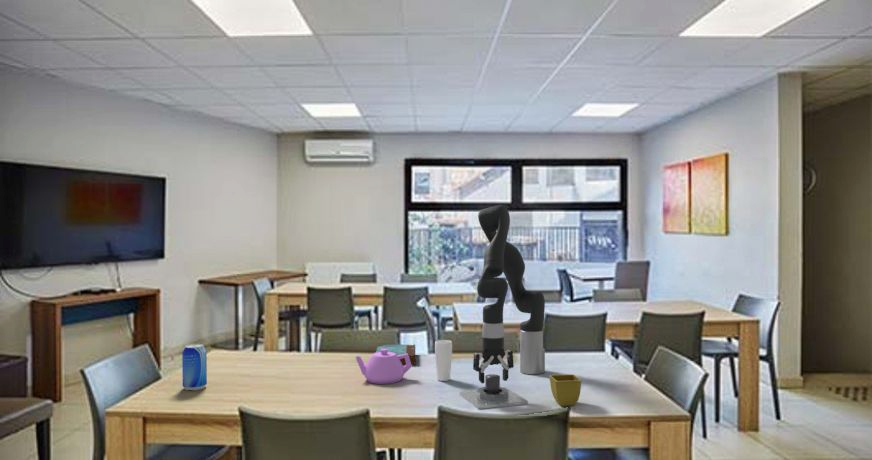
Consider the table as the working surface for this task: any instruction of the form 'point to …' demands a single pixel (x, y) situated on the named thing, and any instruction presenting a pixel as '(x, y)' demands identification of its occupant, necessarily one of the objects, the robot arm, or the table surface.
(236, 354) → the table surface
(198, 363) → the beer can
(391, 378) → the teapot
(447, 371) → the drinking glass
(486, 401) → the square base plate
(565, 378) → the flower pot
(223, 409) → the table surface
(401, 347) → the book
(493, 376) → the cap
